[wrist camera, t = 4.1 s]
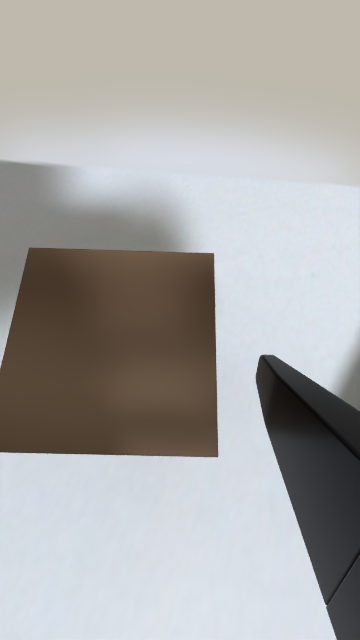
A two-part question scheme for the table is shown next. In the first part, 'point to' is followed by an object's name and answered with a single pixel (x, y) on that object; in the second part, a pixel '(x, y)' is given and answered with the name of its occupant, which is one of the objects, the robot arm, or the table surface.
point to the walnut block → (112, 355)
